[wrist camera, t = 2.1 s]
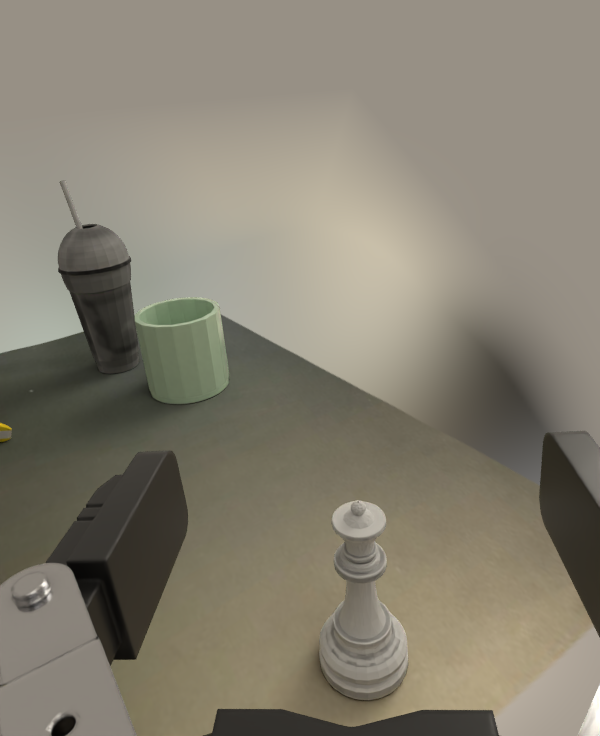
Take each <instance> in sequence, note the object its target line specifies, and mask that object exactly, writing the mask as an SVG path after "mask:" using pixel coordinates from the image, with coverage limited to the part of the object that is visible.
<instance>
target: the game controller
mask: <svg viewBox="0 0 600 736" xmlns="http://www.w3.org/2000/svg"><path fill="white" fill-rule="evenodd" d="M11 431H12V429H11V428H10V427H9V426H7V425H5V424H2V423H0V442H4V441H7V440H9V439H10V438H11Z"/></svg>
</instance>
